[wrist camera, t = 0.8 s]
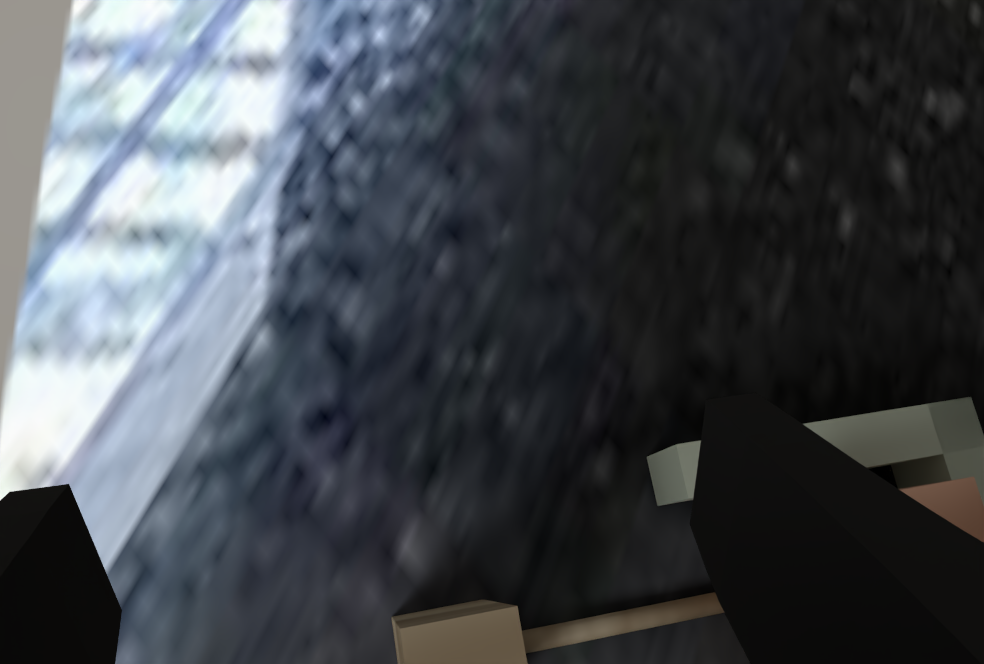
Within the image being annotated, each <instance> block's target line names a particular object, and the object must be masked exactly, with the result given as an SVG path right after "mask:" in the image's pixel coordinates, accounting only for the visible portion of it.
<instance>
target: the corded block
mask: <svg viewBox="0 0 984 664" xmlns="http://www.w3.org/2000/svg"><path fill="white" fill-rule="evenodd" d="M899 490H901V491H902V492H904V493H905V494H907V495H908V496H910V497H911V498H913V499H914V500H916V501H918V502H919V503H921V504H922V505H924V506H925V507H927V508H928V509H930V510H932V511H933V512H935V513H936V514H938V515H940V516H941V517H943V518H944V519H946V520H948V521H949V522H951V523H952V524H954V525H956V526H957V527H959V528H960V529H962V530H964V531H965V532H967V533H969V534H970V535H972V536H974V537H975V538H977V539H979V540H980V541H982V542H984V505H983V502H982V499H981V496H980V493H979V490H978V487H977V484H976V481H975V478H974V477H968V478H962V479H956V480H950V481H943V482H937V483H931V484H925V485H919V486H913V487H907V488H901V489H899ZM720 613H724V611H723V609H722V607H721V605H720V603H719V601H718V598H717V596H716V593H715V592H713V593H708V594H703V595H698V596H693V597H688V598H683V599H678V600H673V601H668V602H663V603H658V604H653V605H648V606H643V607H638V608H633V609H628V610H623V611H618V612H613V613H608V614H603V615H598V616H593V617H588V618H583V619H578V620H573V621H568V622H563V623H558V624H553V625H548V626H543V627H538V628H533V629H528V630H523V631H522V629H521V624H520V618H519V612H518V606H515V605H510V604H504V603H499V602H494V601H489V600H484V599H482V600H477V601H472V602H466V603H461V604H456V605H451V606H445V607H440V608H435V609H430V610H425V611H419V612H414V613H409V614H404V615H398V616H393V617H392V624H393V631H394V639H395V646H396V654H397V661H398V664H527V658H526V653H531V652H536V651H541V650H545V649H550V648H555V647H560V646H565V645H570V644H575V643H579V642H584V641H589V640H594V639H599V638H604V637H608V636H613V635H618V634H623V633H628V632H633V631H638V630H642V629H647V628H652V627H657V626H662V625H667V624H672V623H676V622H681V621H686V620H691V619H696V618H701V617H705V616H710V615H715V614H720Z"/></svg>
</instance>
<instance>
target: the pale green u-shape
mask: <svg viewBox="0 0 984 664" xmlns="http://www.w3.org/2000/svg"><path fill="white" fill-rule="evenodd" d="M803 425H805V426H806V427H808V428H809V429H811V430H812V431H814V432H815V433H816V434H818V435H819V436H821V437H822V438H824V439H825V440H827V441H828V442H830V443H831V444H832V445H834V446H835V447H837V448H838V449H840V450H841V451H843V452H844V453H846V454H847V455H849V456H850V457H851V458H853V459H854V460H856V461H857V462H859V463H860V464H862V465H863V466H865V467H866V468H868V469H871V468H876V467H882V466H888V465H891V467H892V471H893V474H894V477H895V481H896V484H897V487H898V489H901V488H907V487H913V486H919V485H925V484H931V483H937V482H943V481H950V480H956V479H962V478H968V477H974V478H975V481H976V484H977V487H978V490H979V493H980V496H981V499H982V502H983V505H984V435H983V432H982V429H981V426H980V423H979V420H978V417H977V414H976V411H975V408H974V405H973V402H972V399H971V397H967V398H960V399H954V400H948V401H942V402H936V403H929V404H923V405H917V406H911V407H905V408H899V409H892V410H886V411H880V412H874V413H868V414H861V415H855V416H849V417H843V418H837V419H830V420H824V421H818V422H812V423H806V424H803ZM700 443H701V441H694V442H688V443H682V444H676V445H674V446H671V447H669V448H666V449H664V450H662V451H659V452H657V453H655V454H652V455H650V456H648V457H647V461H648V466H649V470H650V475H651V479H652V484H653V488H654V493H655V497H656V502H657V506H661V505H666V504H672V503H678V502H683V501H689V500H693V497H694V489H695V481H696V474H697V466H698V459H699V451H700Z"/></svg>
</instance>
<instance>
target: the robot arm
mask: <svg viewBox="0 0 984 664" xmlns="http://www.w3.org/2000/svg"><path fill="white" fill-rule="evenodd" d="M690 526H691V529H692V531H693V534H694V537H695V540H696V543H697V545H698V548H699V551H700V554H701V556H702V559H703V562H704V565H705V567H706V570H707V573H708V575H709V578H710V580H711V583H712V585H713V588H714V591H715V593H716V596H717V598H718V601H719V603H720V605H721V607H722V609H723V611H724V613H725V615H726V617H727V619H728V621H729V623H730V625H731V626H732V628H733V630H734V632H735V634H736V636H737V638H738V640H739V642H740V644H741V646H742V648H743V650H744V652H745V653H746V655H747V657H748V659H749V661H750V663H751V664H984V542H982V541H980V540H979V539H977V538H975V537H974V536H972V535H970V534H969V533H967V532H965V531H964V530H962V529H960V528H959V527H957V526H956V525H954V524H952V523H951V522H949V521H948V520H946V519H944V518H943V517H941V516H940V515H938V514H936V513H935V512H933V511H932V510H930V509H928V508H927V507H925V506H924V505H922V504H921V503H919V502H918V501H916V500H914V499H913V498H911V497H910V496H908V495H907V494H905V493H904V492H902V491H901V490H899V489H898V488H896V487H895V486H893V485H892V484H890V483H889V482H887V481H886V480H884V479H883V478H881V477H880V476H878V475H877V474H875V473H874V472H872V471H871V470H869V469H868V468H866V467H865V466H863V465H862V464H860V463H859V462H857V461H856V460H854V459H853V458H851V457H850V456H849V455H847V454H846V453H844V452H843V451H841V450H840V449H838V448H837V447H835V446H834V445H832V444H831V443H830V442H828V441H827V440H825V439H824V438H822V437H821V436H819V435H818V434H816V433H815V432H814V431H812V430H811V429H809V428H808V427H806V426H805V425H803V424H802V423H800V422H799V421H797V420H796V419H795V418H793V417H792V416H790V415H789V414H787V413H786V412H784V411H783V410H781V409H780V408H778V407H777V406H775V405H774V404H772V403H771V402H769V401H768V400H766V399H764V398H763V397H761V396H760V395H758V394H756V393H750V394H742V395H735V396H727V397H720V398H712V399H706V405H705V413H704V421H703V428H702V436H701V443H700V451H699V459H698V466H697V474H696V481H695V489H694V497H693V504H692V512H691V519H690ZM121 613H122V610H121V607H120V605H119V602H118V600H117V598H116V595H115V593H114V591H113V588H112V586H111V583H110V581H109V579H108V576H107V574H106V571H105V569H104V567H103V564H102V562H101V560H100V557H99V555H98V552H97V550H96V548H95V545H94V543H93V541H92V538H91V536H90V533H89V531H88V529H87V526H86V524H85V521H84V519H83V517H82V514H81V512H80V510H79V507H78V505H77V502H76V500H75V498H74V495H73V493H72V490H71V488H70V486H69V484H66V485H59V486H51V487H44V488H36V489H29V490H21V491H14V492H9V493H8V494H7V495H6V496H5V497H4V498H3V499H2V500H1V501H0V664H115V660H116V652H117V644H118V636H119V629H120V621H121Z"/></svg>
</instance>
